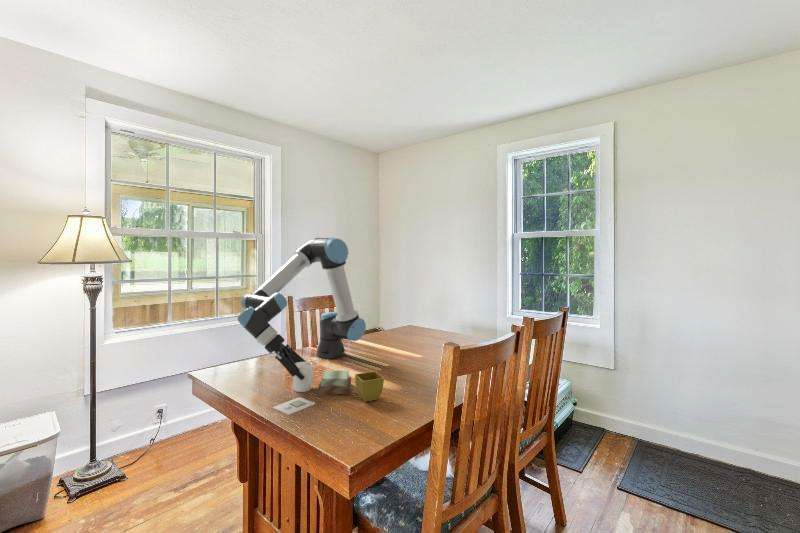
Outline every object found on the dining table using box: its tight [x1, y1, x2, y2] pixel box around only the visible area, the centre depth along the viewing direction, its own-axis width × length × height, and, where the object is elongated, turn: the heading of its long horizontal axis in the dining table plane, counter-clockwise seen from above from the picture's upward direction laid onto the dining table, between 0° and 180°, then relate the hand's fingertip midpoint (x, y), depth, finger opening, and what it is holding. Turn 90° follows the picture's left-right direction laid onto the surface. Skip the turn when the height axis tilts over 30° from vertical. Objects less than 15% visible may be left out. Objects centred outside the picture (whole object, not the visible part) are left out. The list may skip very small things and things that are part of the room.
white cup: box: [292, 361, 314, 393], centre depth 147 cm, size 8×8×10 cm
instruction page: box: [271, 396, 316, 416], centre depth 131 cm, size 12×9×1 cm
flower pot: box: [354, 370, 385, 403], centre depth 139 cm, size 9×9×9 cm
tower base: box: [317, 369, 352, 396], centre depth 148 cm, size 12×12×6 cm
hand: (311, 380), depth 147 cm, fingers closed on white cup, 8 cm apart
